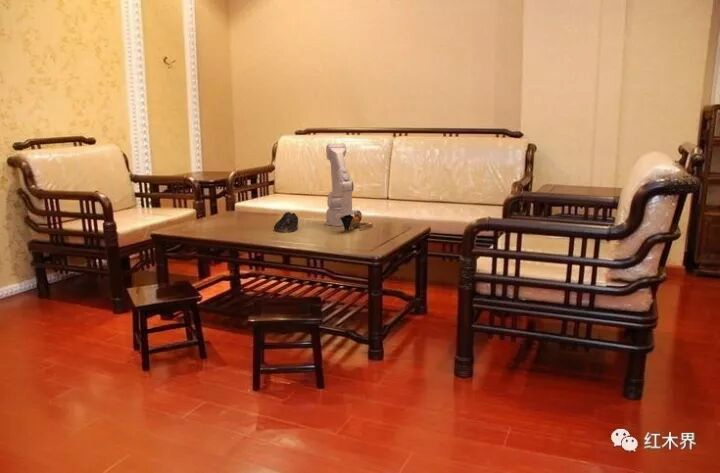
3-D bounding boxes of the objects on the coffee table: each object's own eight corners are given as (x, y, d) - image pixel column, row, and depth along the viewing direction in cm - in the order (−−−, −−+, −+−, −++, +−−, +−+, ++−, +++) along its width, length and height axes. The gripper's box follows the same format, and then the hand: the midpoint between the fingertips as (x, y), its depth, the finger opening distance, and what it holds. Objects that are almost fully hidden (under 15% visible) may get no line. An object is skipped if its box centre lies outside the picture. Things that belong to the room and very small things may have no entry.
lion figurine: (355, 225, 317) (355, 209, 315) (364, 226, 315) (364, 210, 313) (342, 231, 304) (341, 214, 302) (351, 232, 302) (350, 215, 300)
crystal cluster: (275, 235, 300) (276, 216, 297) (271, 227, 313) (272, 209, 310) (300, 235, 304) (302, 216, 302) (296, 227, 317) (297, 209, 314)
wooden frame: (347, 228, 311) (347, 224, 310) (359, 225, 318) (359, 221, 318) (361, 230, 305) (361, 226, 305) (372, 227, 313) (372, 223, 312)
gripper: (343, 206, 292) (343, 233, 295) (361, 202, 303) (361, 228, 306) (332, 205, 296) (333, 231, 299) (350, 201, 307) (351, 226, 310)
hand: (346, 229), depth 303 cm, fingers closed
